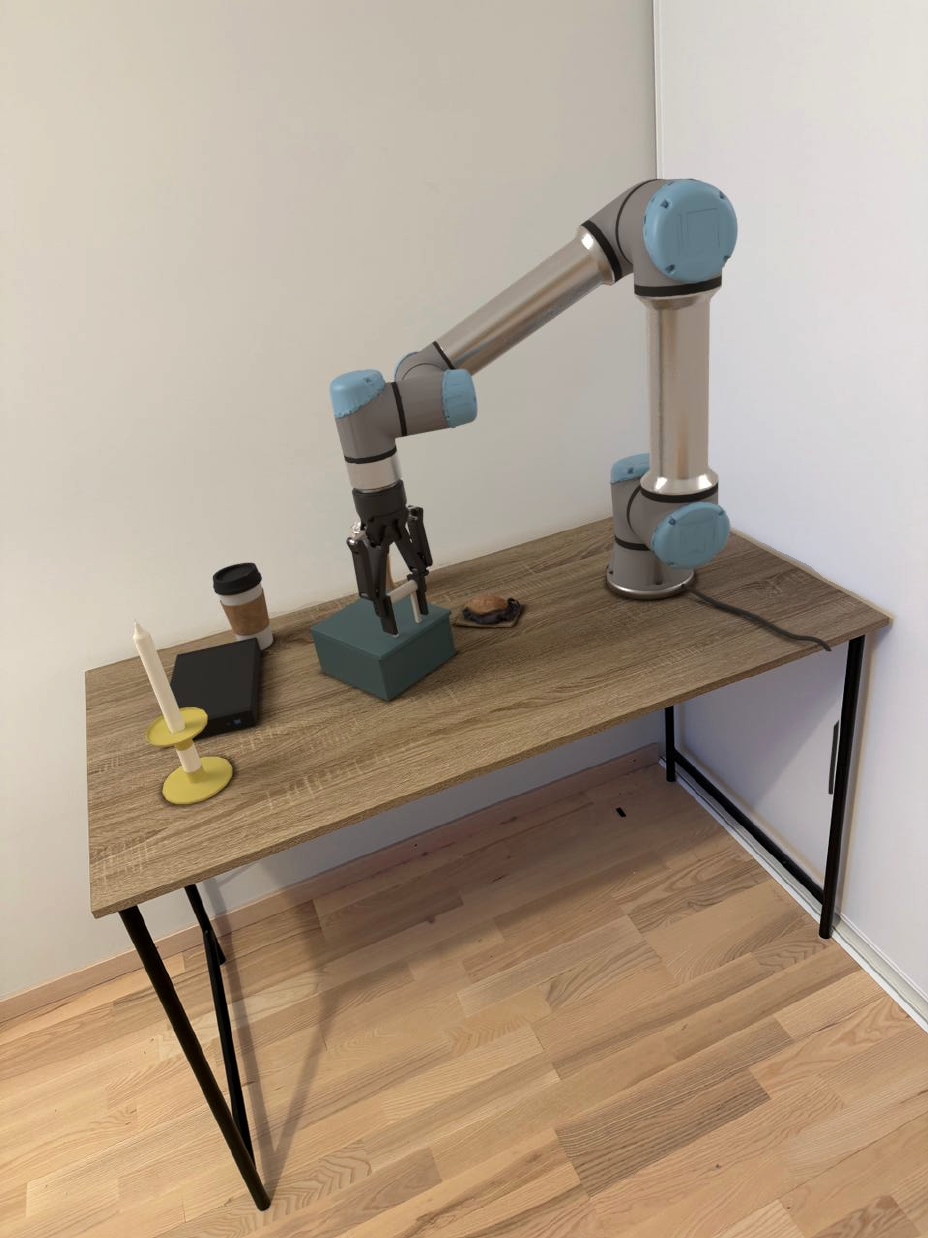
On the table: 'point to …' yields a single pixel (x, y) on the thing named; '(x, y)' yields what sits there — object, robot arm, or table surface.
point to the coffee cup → (244, 602)
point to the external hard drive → (220, 685)
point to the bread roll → (489, 612)
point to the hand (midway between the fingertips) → (406, 622)
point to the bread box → (387, 661)
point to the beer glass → (354, 531)
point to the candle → (180, 735)
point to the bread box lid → (365, 628)
